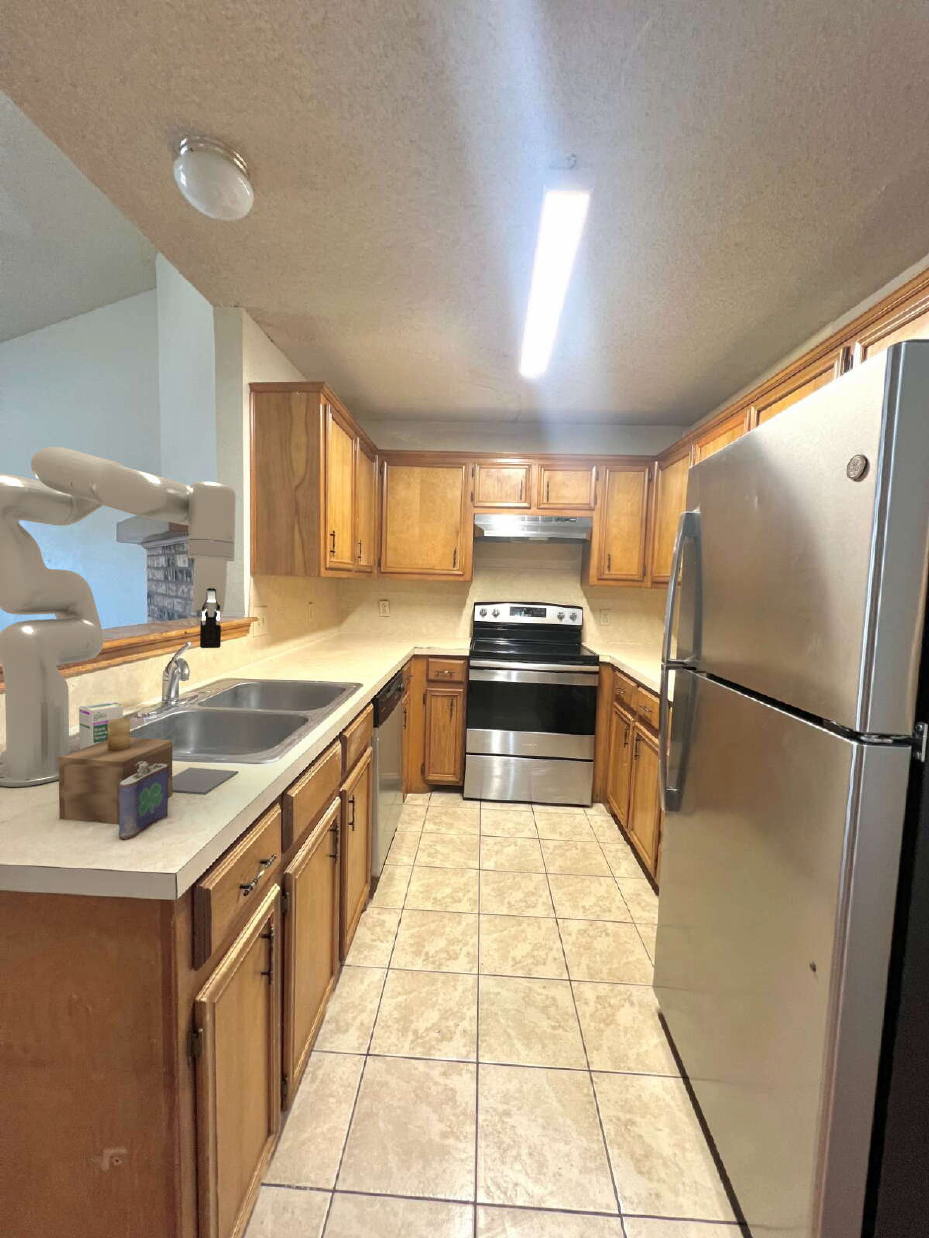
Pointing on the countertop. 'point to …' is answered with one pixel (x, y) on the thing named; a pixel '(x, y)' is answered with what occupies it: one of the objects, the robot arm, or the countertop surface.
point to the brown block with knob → (106, 773)
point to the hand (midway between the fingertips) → (209, 644)
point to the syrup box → (97, 722)
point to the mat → (200, 780)
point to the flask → (143, 799)
